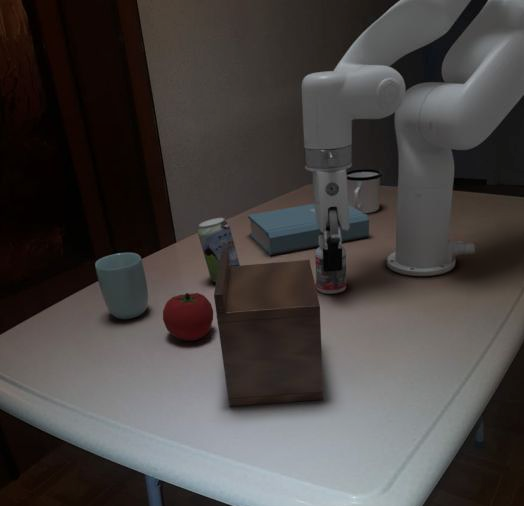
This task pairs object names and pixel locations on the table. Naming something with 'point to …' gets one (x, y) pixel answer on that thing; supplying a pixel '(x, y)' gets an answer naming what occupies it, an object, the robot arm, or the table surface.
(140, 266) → the cup
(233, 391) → the wooden box
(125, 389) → the table surface
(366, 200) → the mug
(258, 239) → the book
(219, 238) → the beverage can
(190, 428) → the table surface
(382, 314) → the table surface
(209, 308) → the tomato
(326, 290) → the pill bottle
